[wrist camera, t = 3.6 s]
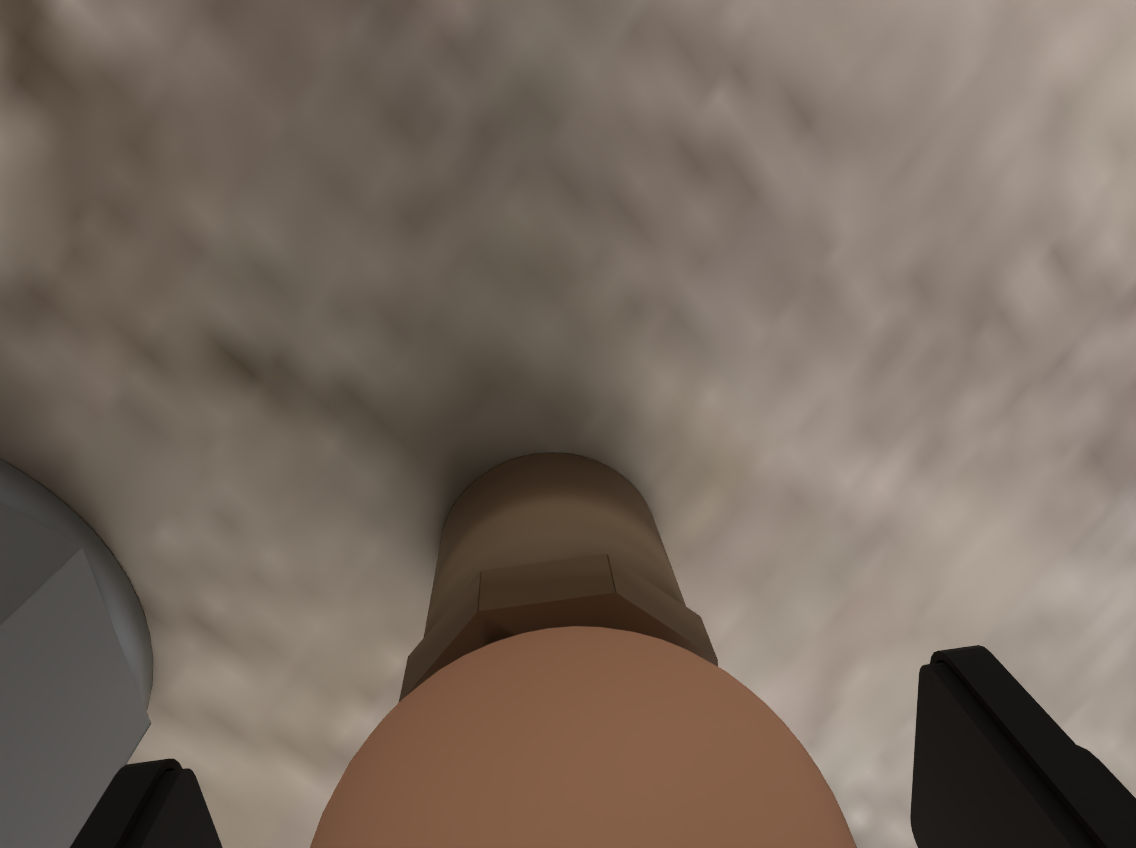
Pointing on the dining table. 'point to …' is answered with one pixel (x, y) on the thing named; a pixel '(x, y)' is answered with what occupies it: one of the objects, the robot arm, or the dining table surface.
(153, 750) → the dining table surface
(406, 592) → the dining table surface
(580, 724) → the ball
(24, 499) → the grey octagonal pot
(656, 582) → the stand
